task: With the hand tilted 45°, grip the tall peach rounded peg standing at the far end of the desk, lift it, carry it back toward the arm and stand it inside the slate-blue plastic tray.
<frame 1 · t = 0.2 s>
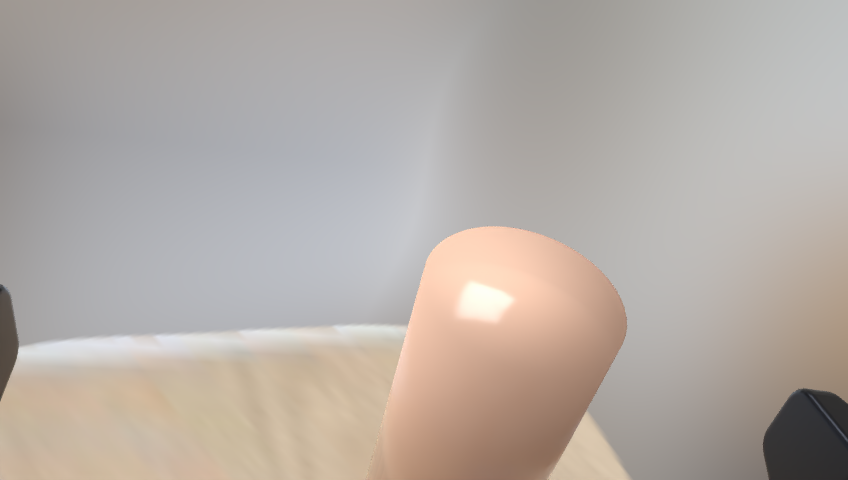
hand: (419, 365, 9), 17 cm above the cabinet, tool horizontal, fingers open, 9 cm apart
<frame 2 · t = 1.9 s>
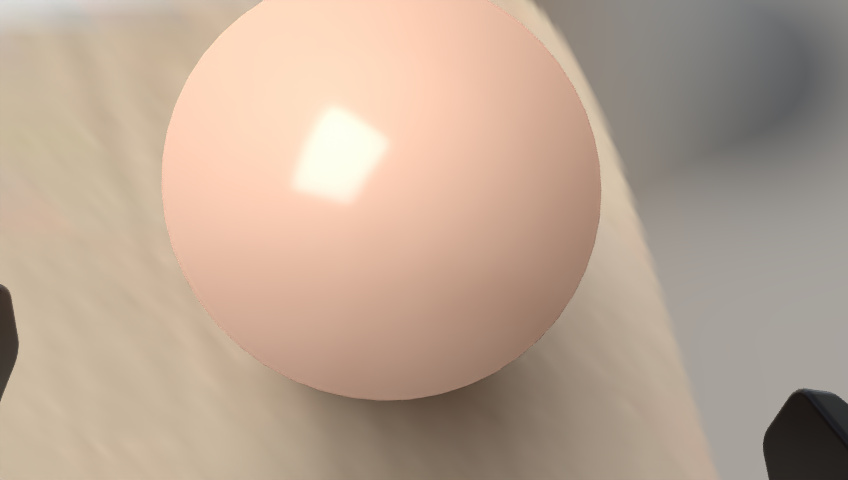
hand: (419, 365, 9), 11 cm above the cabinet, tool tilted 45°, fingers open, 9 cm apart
peach rounded peg: (349, 277, 20), on the cabinet
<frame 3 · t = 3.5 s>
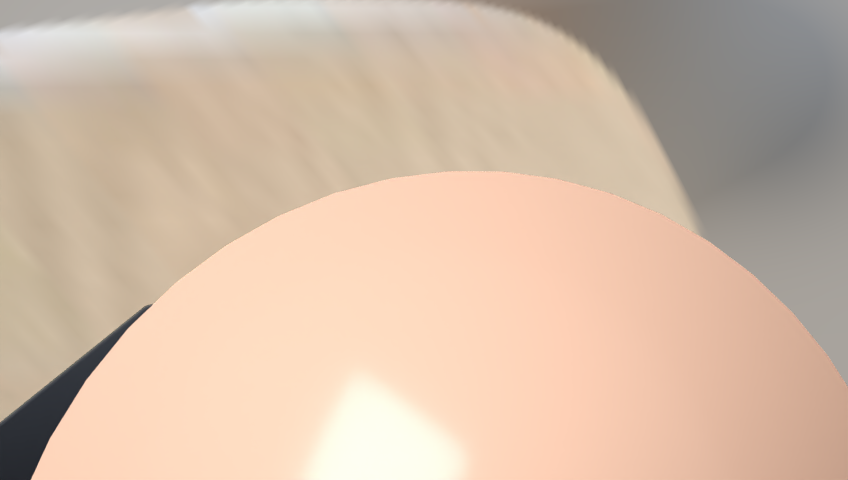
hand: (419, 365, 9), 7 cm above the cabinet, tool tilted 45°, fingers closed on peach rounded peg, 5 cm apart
peach rounded peg: (365, 432, 15), on the cabinet, touching gripper
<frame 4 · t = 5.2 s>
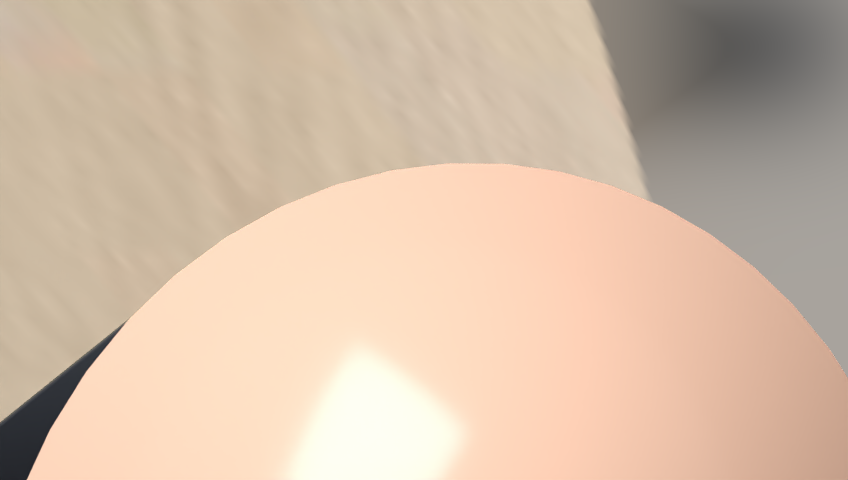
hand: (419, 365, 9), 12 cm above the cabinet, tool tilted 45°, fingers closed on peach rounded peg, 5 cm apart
peach rounded peg: (365, 430, 15), point 6 cm above the cabinet, touching gripper
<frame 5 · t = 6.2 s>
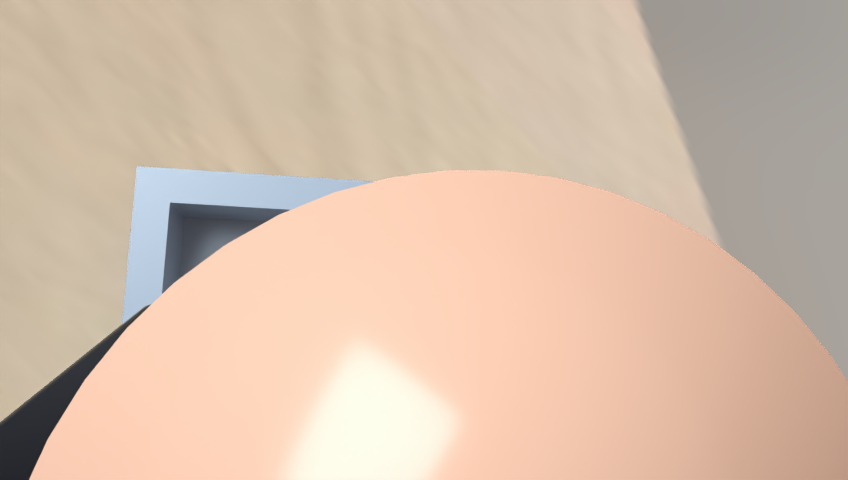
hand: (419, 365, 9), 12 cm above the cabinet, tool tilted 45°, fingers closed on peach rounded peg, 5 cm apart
peach rounded peg: (365, 433, 15), point 5 cm above the cabinet, touching gripper
tray: (359, 408, 20), on the cabinet
when the fingers open (9 cm above the cabinet, at t = 7.0 s): peach rounded peg drops 1 cm, resting on tray.
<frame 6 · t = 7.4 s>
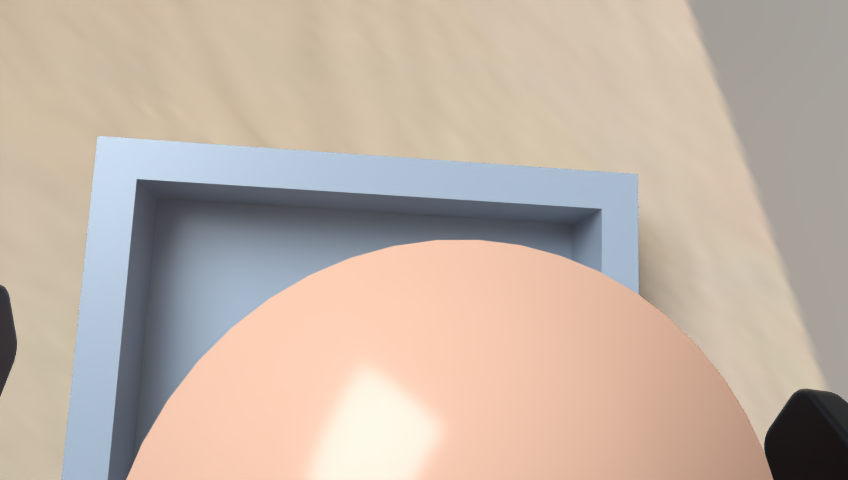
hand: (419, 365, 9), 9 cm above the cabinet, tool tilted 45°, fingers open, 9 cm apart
peach rounded peg: (360, 429, 16), point 1 cm above the cabinet, touching tray
tray: (360, 421, 17), on the cabinet
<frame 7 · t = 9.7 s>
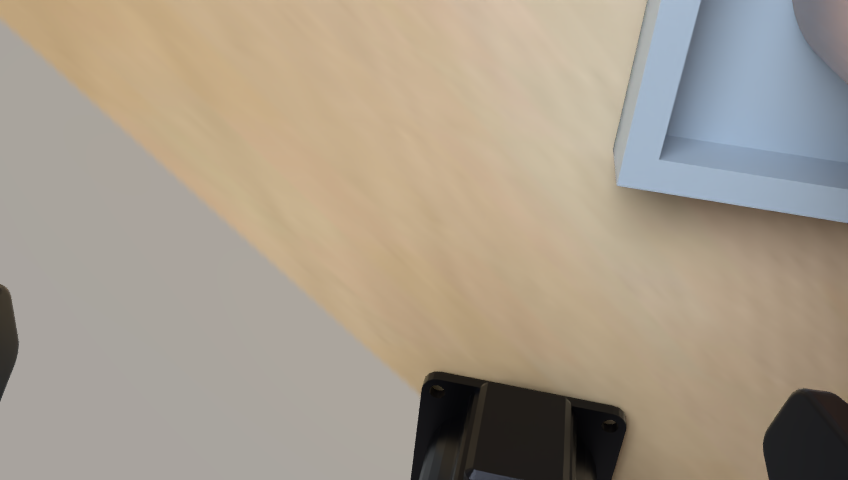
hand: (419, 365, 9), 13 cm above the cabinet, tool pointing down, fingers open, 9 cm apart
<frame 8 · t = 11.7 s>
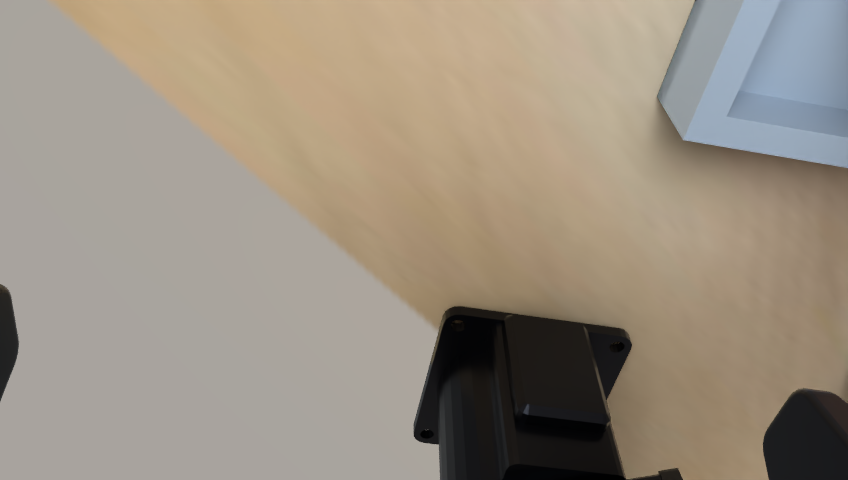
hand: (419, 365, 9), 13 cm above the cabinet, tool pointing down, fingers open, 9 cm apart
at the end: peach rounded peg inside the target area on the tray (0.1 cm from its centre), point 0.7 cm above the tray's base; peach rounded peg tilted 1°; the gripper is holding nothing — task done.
